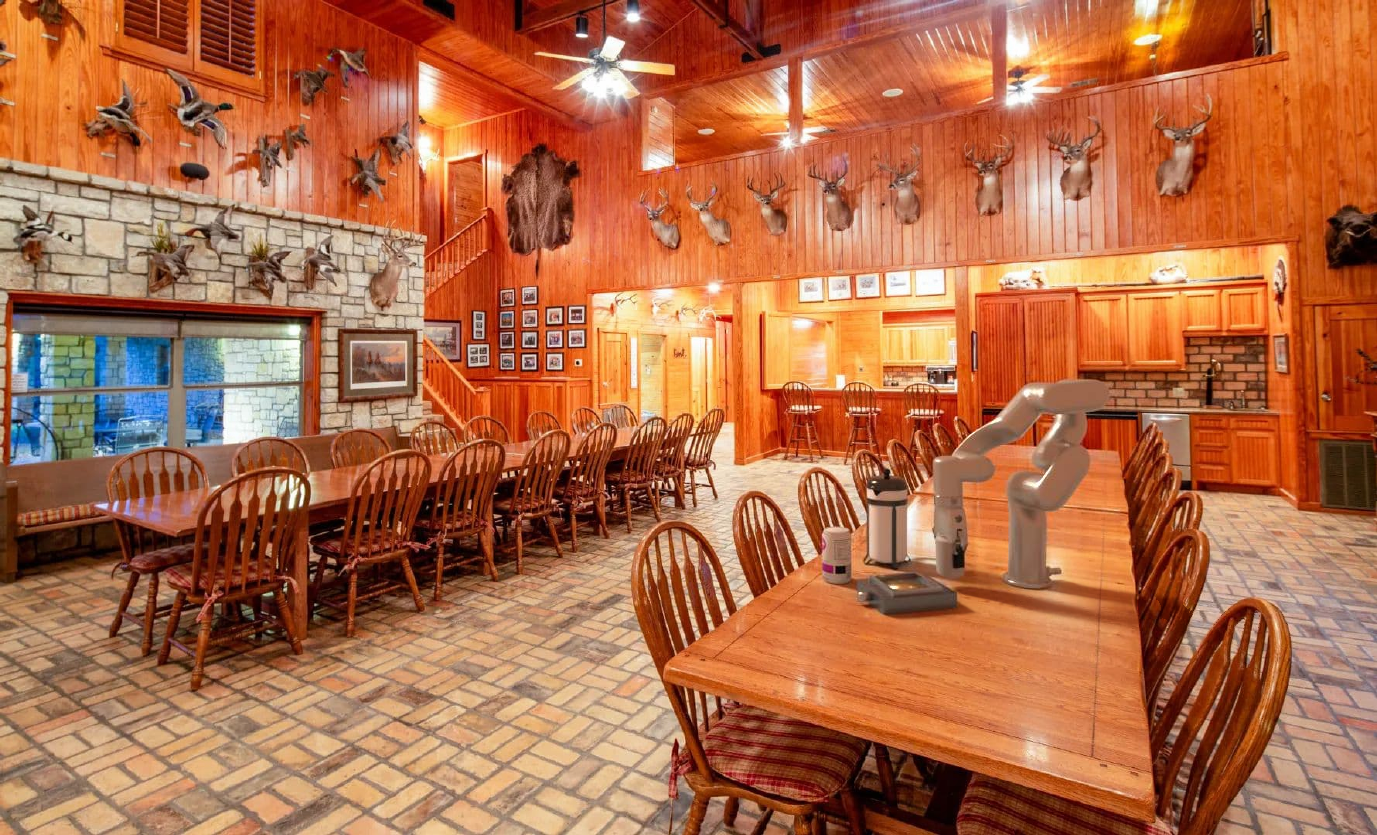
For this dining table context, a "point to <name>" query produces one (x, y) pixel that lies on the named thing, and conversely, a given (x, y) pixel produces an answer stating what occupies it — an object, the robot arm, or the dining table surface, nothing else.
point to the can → (946, 558)
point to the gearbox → (905, 593)
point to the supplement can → (836, 555)
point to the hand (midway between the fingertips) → (950, 563)
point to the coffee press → (887, 519)
